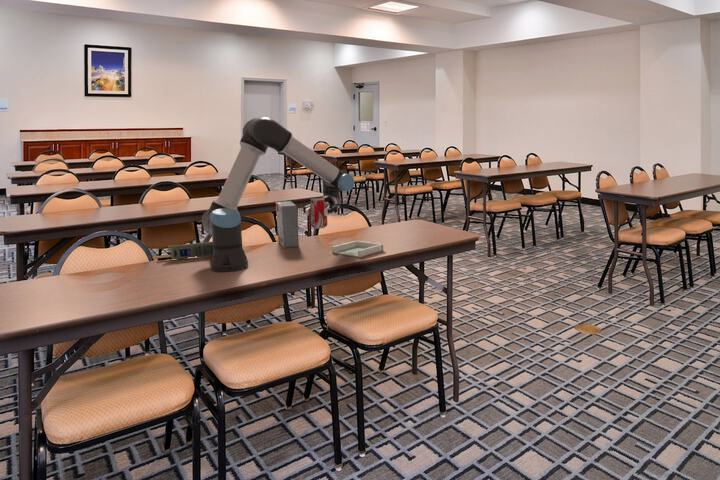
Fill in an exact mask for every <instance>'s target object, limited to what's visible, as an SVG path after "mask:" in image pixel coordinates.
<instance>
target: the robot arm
mask: <svg viewBox="0 0 720 480" xmlns="http://www.w3.org/2000/svg"><path fill="white" fill-rule="evenodd" d="M239 145H240V150H239V152H238V153H237V156H236V158H235V160H234V162H233V164H232V167H231V169H230V171H229V173H228V175H227V178H226V180H225V182H224V184H223V187H222V189H221V191H220V193H219V196H218V197H217V199H214V200H212V202H211V204H210V206H209V208H207V210H206V211H205V212H203V215H202V218H201V224H202V227H203V228H204V230H205V232H206V233H207V234H208V235H209V236H211V237H212V239H211V240H212V241H211V242H213V253H212V256H211V258H210V263H209V269H210V270H211V271H212V272H213V271H214V272H221V273H222V272H234V271H240V270H243V269H246V268H247V267H249V260H248V257H247V255H246V252H245V249H244V248H243V246H244V245H243V237H242V233H243V232H242V218H241V213H240V211H239V210H238V206H239V203H240V201H241V199H242V197H243V194H244V192H245V190H246V188H247V185H248V184H249V181H250V179H251V177H252V175H253V173H254V170H255V168H256V165H257V164H258V161H259V160H260V157H261V156H264V155H266V153H267V150H268V148H270V149H273V150H274V151H276V152H277V153H279V154H280V153H283V154H285V155H286V156H287V157H290V158H291V160H292V159H293V160H294V161H295V162H297V163H298V164H300V165H301V166H303V167H304V168H306V169H308V170H309V171H310V172H312V173H313V174H314V175H317V176H318V177H319V178H321V179H322V194H323V196H322V198H325V201H326V205H327V208H325V209H324V216H327V217H328V215H329V214H333V213H335V214H337V213H338V211H339V210H341V208H340V207H341V204H342V197H341V195H340V191H341V192H349V191H351V190H353V188H354V187H355V178H354V176H353V175H351V174H349V173H345V172H343V171H342V170H341V169H339V167H337V166H335V165H333V164H332V163H331V162H330V161H328V160H327V159H325V158H324V157H322V156H321V155H319V154H318V153H317V152H315V151H313V150H312V149H311V148H309V147H308V146H306V145H305V144H303V143H302V142H301V141H300V140H298V139H297V138H295V137H294V136H293V133H292V132H291V131H289V130H288V129H287V128H285V127H284V126H283V125H282V124H280V123H279V122H277V121H275V120H274V119H272V118H270V117H254V118H251V119H249V120H248V121H247V122H246V123H245V124H244V126H243V128H242V135H241V139H240V141H239ZM302 209H303V214H305V217H310V203H309V204H307V205H305V206H303V207H302Z"/></svg>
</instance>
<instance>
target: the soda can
mask: <svg viewBox="0 0 720 480" xmlns="http://www.w3.org/2000/svg"><path fill="white" fill-rule="evenodd" d="M309 204H310V215H309V217H310V218H309V219H310V227H312V228H313V229H316V230H317V229H324V228H326V227H327V226H328V215H327V216H324V209H325V208H327V205H326V201H325V198H323V197H315V198H311V199H310V203H309Z"/></svg>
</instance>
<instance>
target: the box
mask: <svg viewBox="0 0 720 480" xmlns="http://www.w3.org/2000/svg"><path fill="white" fill-rule="evenodd" d="M331 249H332V251H331V252H332V254H335V255H340V256H347V257H353V258H359V259H360V258H364V257H367V256H371V255H374V254H378V253H381V252H383V251H384V244H383V243H377V242H375V243H374V242H368V241H362V240H353V241H349V242H344V243H342V244H338V245H337V244H336V245H333V246H332V247H331Z"/></svg>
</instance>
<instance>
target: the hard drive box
mask: <svg viewBox="0 0 720 480" xmlns="http://www.w3.org/2000/svg"><path fill="white" fill-rule="evenodd" d="M275 209H276V225H277V238H278V239H277V240H278V244H280V245H281V247H282V246H283V247H282V248H283V249H287V248H288V247H289V248H297V247H299V246H300V244H299V240H300V239H299V227H298V223H299V222H298V210H297V209H298V208H297V205H296V204H295V203H294V202H292V201H291V200H288V201H275Z"/></svg>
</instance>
